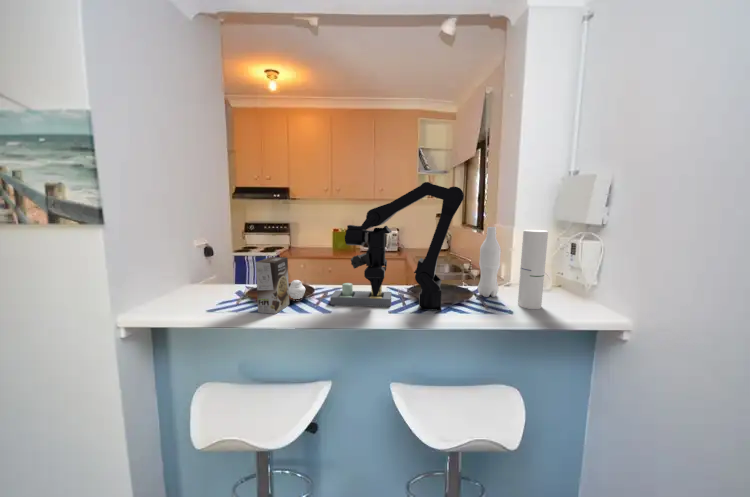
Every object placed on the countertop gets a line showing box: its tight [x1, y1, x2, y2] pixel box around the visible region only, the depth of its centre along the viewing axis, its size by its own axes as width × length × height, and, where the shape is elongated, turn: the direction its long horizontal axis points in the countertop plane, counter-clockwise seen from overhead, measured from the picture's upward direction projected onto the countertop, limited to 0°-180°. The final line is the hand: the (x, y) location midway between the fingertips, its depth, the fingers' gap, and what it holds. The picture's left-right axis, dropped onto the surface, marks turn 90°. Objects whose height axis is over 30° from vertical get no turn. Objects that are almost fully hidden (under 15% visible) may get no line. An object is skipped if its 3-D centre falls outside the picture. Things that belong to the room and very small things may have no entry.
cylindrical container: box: [517, 229, 549, 310], centre depth 105 cm, size 7×7×25 cm
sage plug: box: [341, 282, 354, 297], centre depth 110 cm, size 4×4×6 cm
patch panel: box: [329, 290, 392, 307], centre depth 109 cm, size 20×8×3 cm, turn 85°
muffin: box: [289, 279, 306, 299], centre depth 111 cm, size 6×6×7 cm
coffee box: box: [255, 256, 290, 315], centre depth 101 cm, size 9×6×16 cm
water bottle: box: [477, 226, 502, 298], centre depth 115 cm, size 7×7×25 cm
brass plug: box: [370, 285, 383, 297], centre depth 109 cm, size 4×4×6 cm
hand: (376, 291), depth 109 cm, fingers open, 9 cm apart
